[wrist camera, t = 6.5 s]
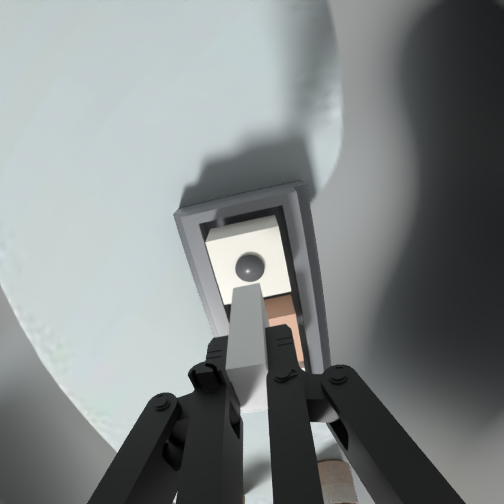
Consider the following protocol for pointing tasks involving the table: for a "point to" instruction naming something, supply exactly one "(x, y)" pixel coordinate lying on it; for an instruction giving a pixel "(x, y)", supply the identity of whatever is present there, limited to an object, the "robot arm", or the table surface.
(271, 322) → the blank key
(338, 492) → the planter
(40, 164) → the table surface
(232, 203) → the keypad
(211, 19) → the table surface
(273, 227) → the dot key
